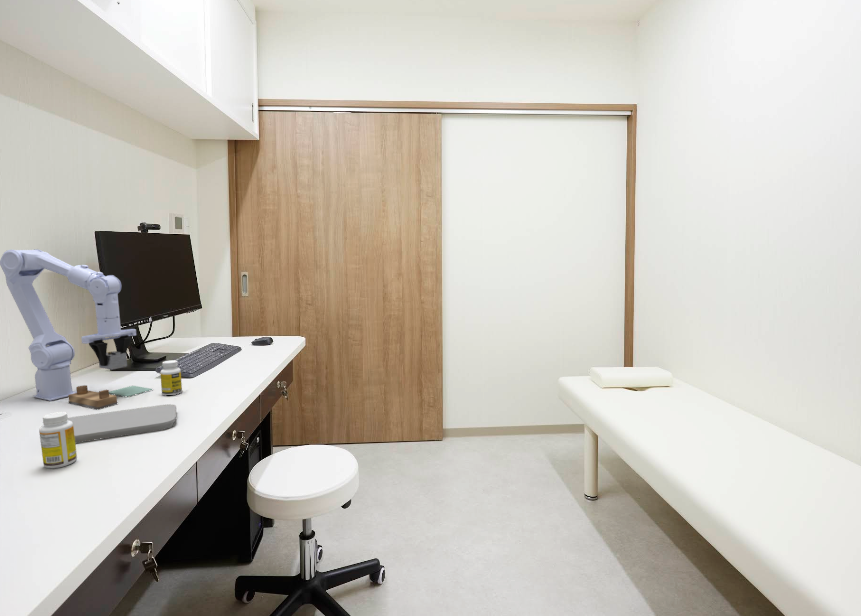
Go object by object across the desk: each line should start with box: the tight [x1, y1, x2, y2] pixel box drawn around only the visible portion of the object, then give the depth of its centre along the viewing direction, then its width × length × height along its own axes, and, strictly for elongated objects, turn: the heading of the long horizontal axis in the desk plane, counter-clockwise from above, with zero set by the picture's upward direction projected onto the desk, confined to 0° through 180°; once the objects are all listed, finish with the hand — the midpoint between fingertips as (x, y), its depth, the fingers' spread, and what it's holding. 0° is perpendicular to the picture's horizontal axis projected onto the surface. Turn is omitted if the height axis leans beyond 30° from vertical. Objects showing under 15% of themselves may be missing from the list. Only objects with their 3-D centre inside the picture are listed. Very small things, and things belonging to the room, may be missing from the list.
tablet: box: [68, 403, 177, 444], centre depth 124 cm, size 16×26×2 cm, turn 116°
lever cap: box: [98, 350, 128, 370], centre depth 150 cm, size 6×4×5 cm
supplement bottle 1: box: [39, 411, 78, 469], centre depth 103 cm, size 6×6×10 cm
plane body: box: [68, 384, 119, 410], centre depth 144 cm, size 14×6×4 cm, turn 62°
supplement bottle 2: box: [160, 359, 183, 396], centre depth 152 cm, size 5×5×10 cm
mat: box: [109, 385, 153, 398], centre depth 156 cm, size 10×8×1 cm
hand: (112, 363), depth 150 cm, fingers closed on lever cap, 4 cm apart
